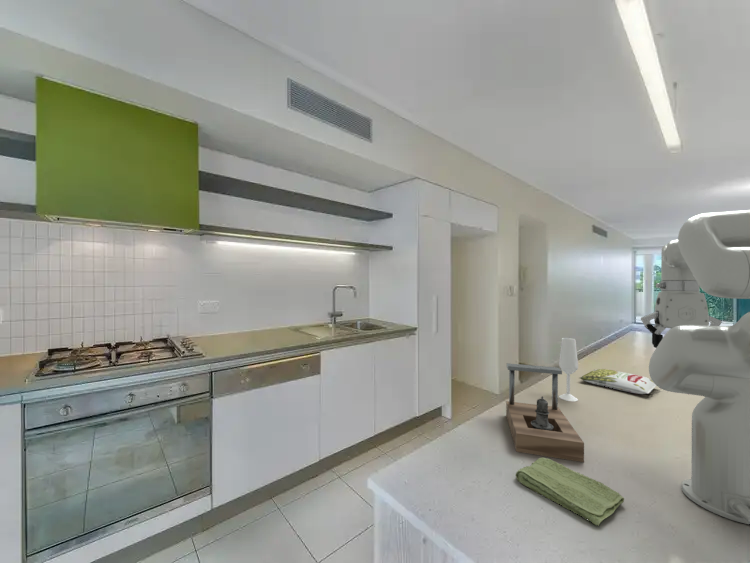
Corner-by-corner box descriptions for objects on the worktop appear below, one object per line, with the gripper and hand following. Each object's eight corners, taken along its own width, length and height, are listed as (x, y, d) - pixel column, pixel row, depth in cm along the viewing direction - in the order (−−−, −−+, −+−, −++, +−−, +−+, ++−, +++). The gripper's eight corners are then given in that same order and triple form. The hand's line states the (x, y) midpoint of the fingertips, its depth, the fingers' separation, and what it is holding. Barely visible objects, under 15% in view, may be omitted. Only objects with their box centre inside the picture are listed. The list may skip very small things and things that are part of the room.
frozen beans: (594, 363, 155) (660, 375, 136) (594, 375, 156) (660, 388, 136) (578, 372, 143) (648, 386, 123) (578, 384, 143) (648, 401, 123)
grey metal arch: (561, 411, 98) (562, 370, 98) (507, 405, 103) (508, 366, 103) (558, 407, 102) (558, 367, 102) (506, 401, 106) (506, 363, 107)
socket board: (583, 462, 79) (584, 442, 79) (516, 451, 84) (516, 433, 84) (558, 422, 102) (558, 407, 102) (506, 415, 106) (506, 401, 106)
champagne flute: (582, 400, 122) (582, 339, 122) (570, 402, 119) (570, 340, 119) (566, 394, 128) (566, 337, 128) (554, 396, 126) (555, 337, 126)
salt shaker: (556, 443, 86) (557, 400, 86) (534, 440, 87) (534, 398, 88) (549, 433, 92) (549, 393, 92) (528, 431, 93) (528, 391, 93)
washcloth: (601, 534, 57) (601, 516, 57) (512, 482, 71) (512, 468, 71) (626, 505, 64) (626, 490, 64) (541, 463, 79) (541, 451, 79)
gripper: (649, 287, 83) (648, 349, 83) (731, 288, 78) (731, 354, 78) (635, 287, 91) (634, 344, 91) (709, 287, 86) (709, 349, 85)
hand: (679, 349), depth 84 cm, fingers open, 9 cm apart
